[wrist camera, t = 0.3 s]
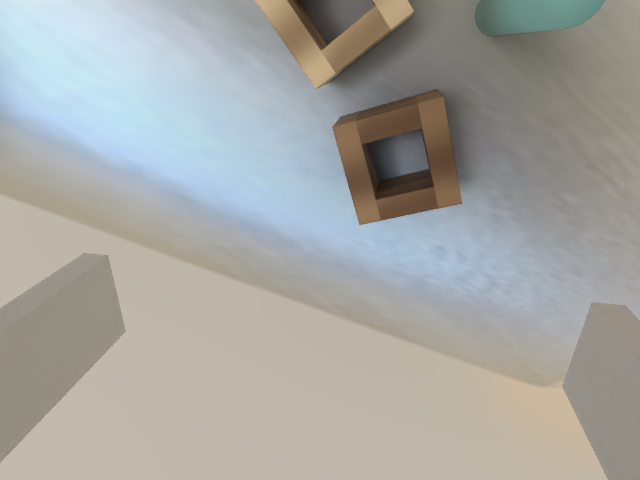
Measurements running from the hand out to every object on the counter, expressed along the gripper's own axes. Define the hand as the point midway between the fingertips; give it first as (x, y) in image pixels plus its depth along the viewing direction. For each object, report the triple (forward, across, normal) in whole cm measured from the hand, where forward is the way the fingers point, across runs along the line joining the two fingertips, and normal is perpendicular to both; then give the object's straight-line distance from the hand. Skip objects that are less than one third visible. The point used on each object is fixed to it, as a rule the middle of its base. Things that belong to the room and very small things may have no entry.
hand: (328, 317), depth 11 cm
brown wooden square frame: (+26, +2, -1) cm, 26 cm away
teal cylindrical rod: (+26, +8, +9) cm, 29 cm away
